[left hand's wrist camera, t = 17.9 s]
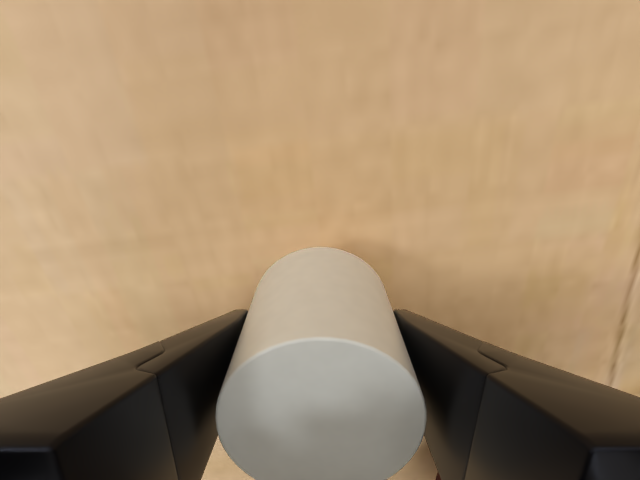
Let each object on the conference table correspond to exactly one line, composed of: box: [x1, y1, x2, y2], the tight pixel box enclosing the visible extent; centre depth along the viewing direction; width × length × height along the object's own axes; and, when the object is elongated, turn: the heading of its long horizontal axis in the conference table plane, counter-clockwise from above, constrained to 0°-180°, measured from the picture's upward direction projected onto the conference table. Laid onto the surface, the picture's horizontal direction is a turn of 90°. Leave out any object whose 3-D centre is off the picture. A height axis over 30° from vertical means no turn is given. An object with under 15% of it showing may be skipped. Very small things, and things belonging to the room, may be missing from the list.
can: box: [215, 247, 427, 480], centre depth 10 cm, size 5×5×5 cm
